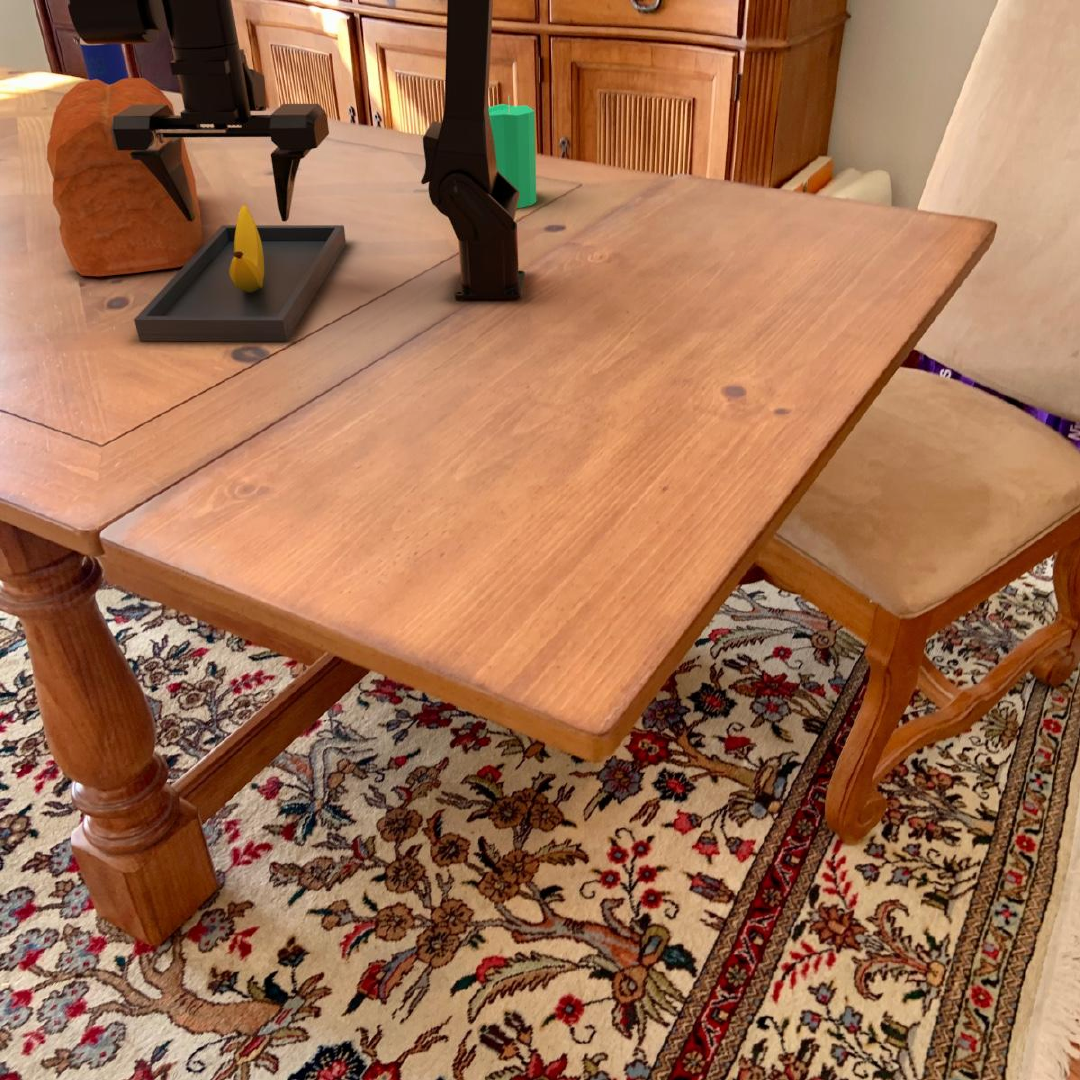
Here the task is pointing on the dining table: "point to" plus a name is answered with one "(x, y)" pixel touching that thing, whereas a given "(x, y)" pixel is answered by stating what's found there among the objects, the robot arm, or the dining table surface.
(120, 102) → the bread
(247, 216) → the banana
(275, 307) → the tray
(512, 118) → the candle
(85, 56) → the beverage can
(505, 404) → the dining table surface
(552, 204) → the dining table surface
